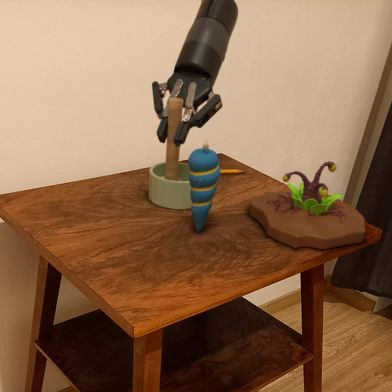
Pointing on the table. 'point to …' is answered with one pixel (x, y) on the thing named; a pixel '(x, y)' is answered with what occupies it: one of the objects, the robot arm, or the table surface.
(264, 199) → the plant
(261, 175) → the table surface
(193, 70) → the robot arm
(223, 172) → the pencil
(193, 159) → the ornament
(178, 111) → the stick
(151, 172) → the bowl
